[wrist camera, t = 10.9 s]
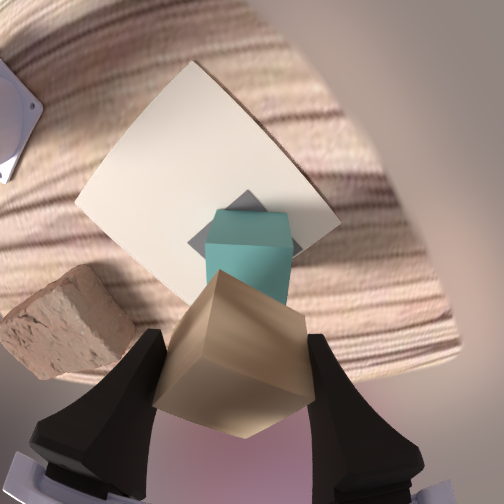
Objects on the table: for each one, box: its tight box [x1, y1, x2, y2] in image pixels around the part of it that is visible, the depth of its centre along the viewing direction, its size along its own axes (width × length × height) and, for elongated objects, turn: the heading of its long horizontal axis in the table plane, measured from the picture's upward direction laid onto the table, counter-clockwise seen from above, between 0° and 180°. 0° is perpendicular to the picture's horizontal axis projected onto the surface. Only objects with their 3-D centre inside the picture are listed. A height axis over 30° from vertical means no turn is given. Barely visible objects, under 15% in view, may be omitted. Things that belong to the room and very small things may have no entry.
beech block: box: [152, 269, 315, 439], centre depth 12 cm, size 4×4×4 cm
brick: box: [0, 264, 136, 380], centre depth 24 cm, size 17×8×5 cm, turn 117°
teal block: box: [205, 210, 294, 305], centre depth 18 cm, size 4×4×4 cm
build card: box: [74, 60, 342, 306], centre depth 19 cm, size 14×13×1 cm
